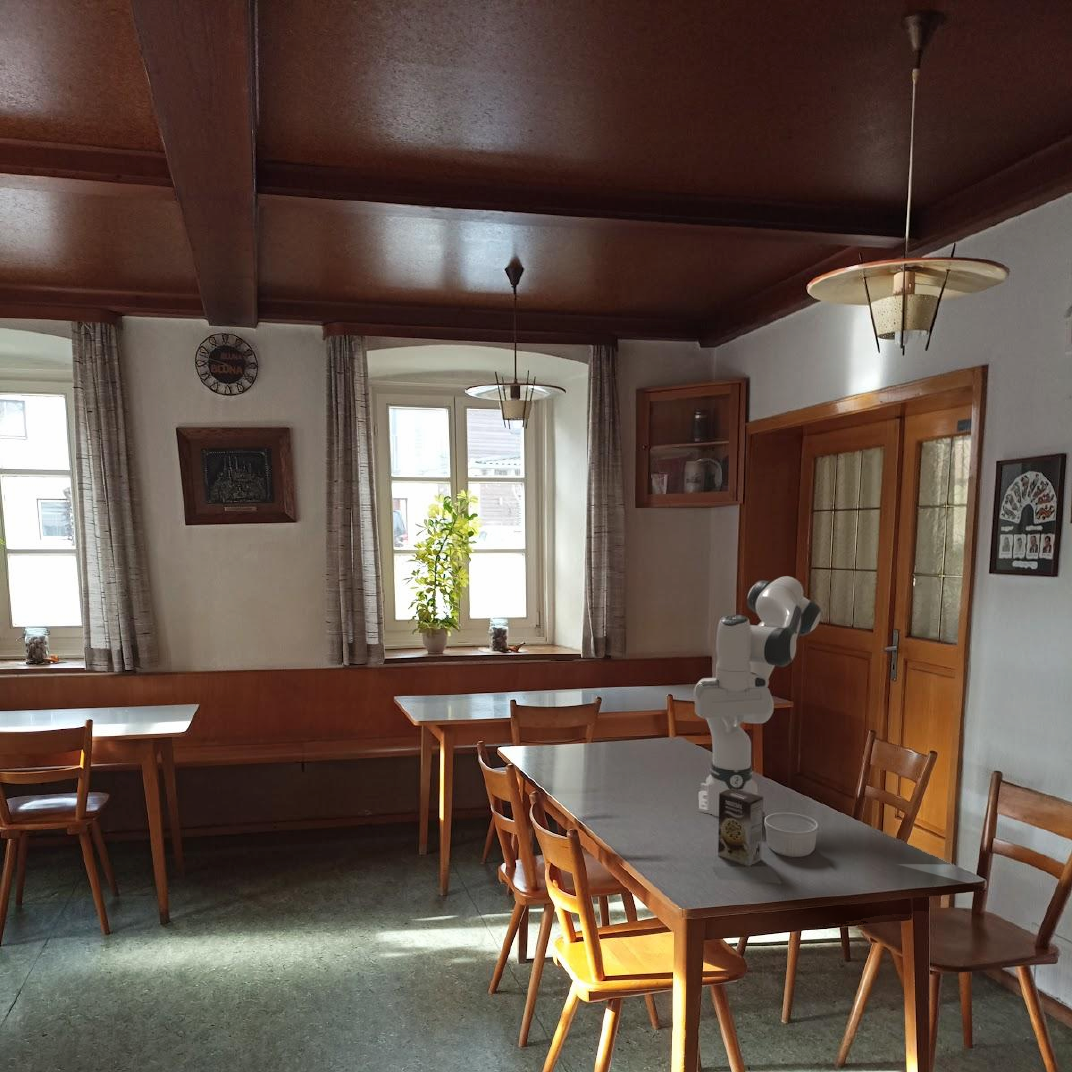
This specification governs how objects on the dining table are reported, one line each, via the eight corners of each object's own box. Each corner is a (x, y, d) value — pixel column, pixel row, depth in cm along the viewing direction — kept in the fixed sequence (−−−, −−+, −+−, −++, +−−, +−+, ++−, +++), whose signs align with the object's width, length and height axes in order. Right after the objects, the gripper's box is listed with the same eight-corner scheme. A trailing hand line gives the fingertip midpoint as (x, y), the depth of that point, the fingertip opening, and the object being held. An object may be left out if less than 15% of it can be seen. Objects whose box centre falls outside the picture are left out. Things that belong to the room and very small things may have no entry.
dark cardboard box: (716, 855, 214) (717, 792, 213) (731, 848, 219) (731, 786, 218) (748, 867, 208) (749, 802, 207) (762, 859, 212) (763, 795, 211)
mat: (713, 868, 207) (713, 866, 207) (770, 868, 207) (770, 866, 207) (723, 888, 197) (723, 886, 197) (783, 887, 197) (783, 885, 197)
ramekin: (753, 848, 219) (754, 821, 219) (780, 833, 228) (780, 808, 228) (801, 864, 210) (802, 836, 209) (827, 848, 219) (827, 822, 218)
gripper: (701, 684, 214) (701, 738, 215) (774, 679, 219) (773, 732, 220) (690, 678, 220) (690, 731, 221) (761, 674, 225) (761, 725, 226)
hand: (732, 732), depth 221 cm, fingers closed
